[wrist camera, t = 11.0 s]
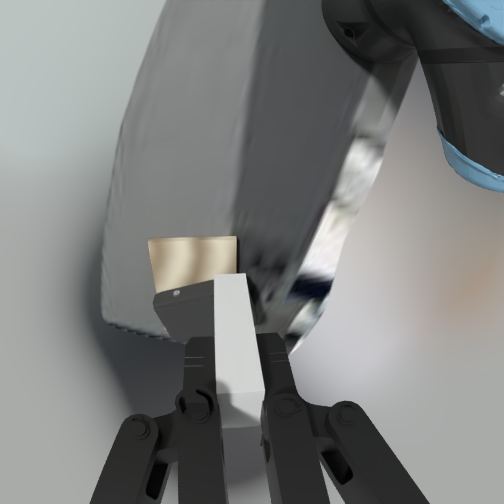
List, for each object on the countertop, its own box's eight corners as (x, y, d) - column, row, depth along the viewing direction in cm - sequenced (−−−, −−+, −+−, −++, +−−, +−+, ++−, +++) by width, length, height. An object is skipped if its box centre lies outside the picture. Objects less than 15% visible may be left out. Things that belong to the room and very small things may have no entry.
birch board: (236, 236, 42) (236, 239, 41) (235, 325, 51) (236, 329, 50) (149, 238, 41) (147, 241, 40) (165, 326, 50) (164, 330, 49)
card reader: (242, 268, 44) (154, 289, 44) (244, 283, 40) (149, 306, 41) (256, 310, 48) (175, 328, 49) (259, 327, 45) (173, 344, 46)
